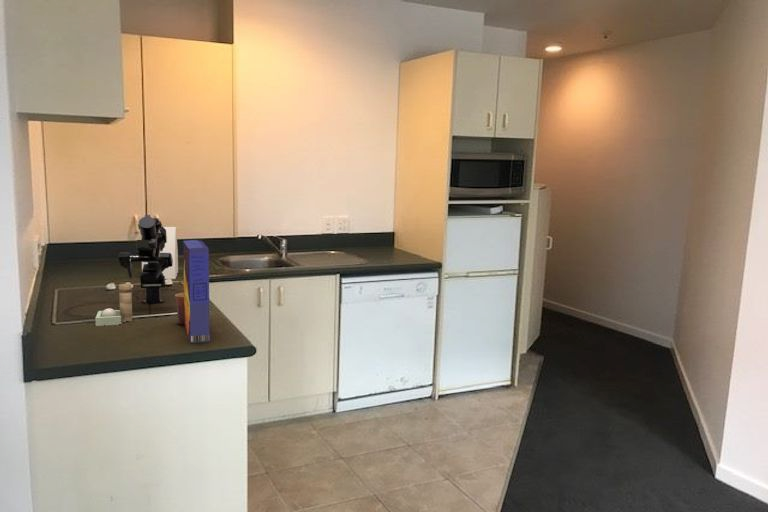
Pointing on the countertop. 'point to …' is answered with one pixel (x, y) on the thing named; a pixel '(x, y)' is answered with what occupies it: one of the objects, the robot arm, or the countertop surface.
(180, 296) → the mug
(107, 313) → the ball
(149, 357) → the countertop surface
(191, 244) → the cereal box
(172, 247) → the milk carton
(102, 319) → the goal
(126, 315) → the player peg
